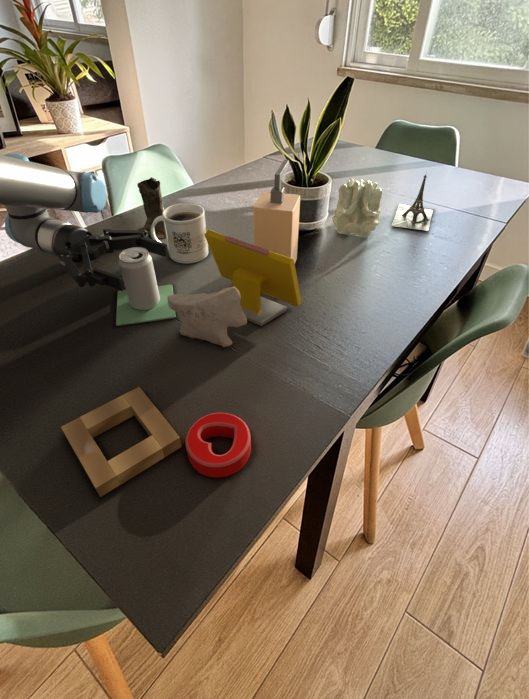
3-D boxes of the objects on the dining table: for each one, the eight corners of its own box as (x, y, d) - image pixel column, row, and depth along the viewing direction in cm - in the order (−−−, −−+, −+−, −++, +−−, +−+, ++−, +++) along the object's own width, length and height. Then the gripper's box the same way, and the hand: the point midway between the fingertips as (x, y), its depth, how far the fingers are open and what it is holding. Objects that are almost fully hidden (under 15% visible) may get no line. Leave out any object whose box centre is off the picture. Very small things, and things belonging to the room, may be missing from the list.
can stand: (100, 497, 59) (95, 488, 58) (65, 436, 67) (60, 426, 65) (182, 446, 66) (179, 437, 64) (142, 396, 73) (139, 386, 71)
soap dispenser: (289, 277, 99) (294, 183, 84) (254, 272, 101) (252, 179, 86) (300, 250, 108) (305, 161, 93) (267, 246, 110) (267, 157, 95)
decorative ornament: (261, 438, 67) (261, 425, 65) (230, 488, 61) (228, 476, 58) (210, 415, 70) (208, 402, 68) (175, 460, 64) (171, 448, 62)
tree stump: (182, 222, 119) (174, 173, 110) (170, 239, 112) (160, 189, 103) (148, 219, 121) (138, 171, 112) (134, 236, 114) (122, 186, 105)
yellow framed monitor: (301, 314, 89) (306, 247, 78) (280, 335, 84) (283, 267, 74) (225, 284, 97) (221, 219, 87) (203, 301, 93) (195, 235, 82)
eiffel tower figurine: (398, 204, 128) (408, 158, 119) (433, 210, 125) (446, 163, 116) (391, 227, 118) (401, 178, 108) (429, 233, 115) (443, 184, 106)
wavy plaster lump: (360, 258, 118) (380, 225, 104) (317, 240, 119) (331, 204, 104) (380, 209, 124) (401, 171, 109) (338, 192, 125) (354, 152, 110)
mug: (187, 269, 102) (180, 226, 94) (153, 253, 107) (144, 212, 100) (216, 251, 108) (212, 209, 100) (182, 237, 113) (177, 196, 106)
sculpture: (253, 345, 82) (252, 280, 72) (244, 361, 79) (241, 295, 69) (178, 325, 87) (166, 261, 76) (166, 339, 84) (153, 274, 73)
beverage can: (148, 315, 88) (136, 265, 80) (124, 307, 91) (109, 257, 82) (166, 299, 93) (157, 250, 84) (143, 291, 95) (131, 242, 86)
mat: (116, 326, 87) (115, 324, 86) (118, 292, 95) (117, 290, 95) (175, 318, 88) (175, 316, 88) (172, 285, 97) (172, 284, 97)
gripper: (112, 232, 102) (185, 254, 94) (25, 285, 86) (105, 316, 78) (104, 202, 97) (180, 222, 89) (10, 252, 80) (94, 282, 73)
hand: (145, 266), depth 84 cm, fingers open, 13 cm apart
